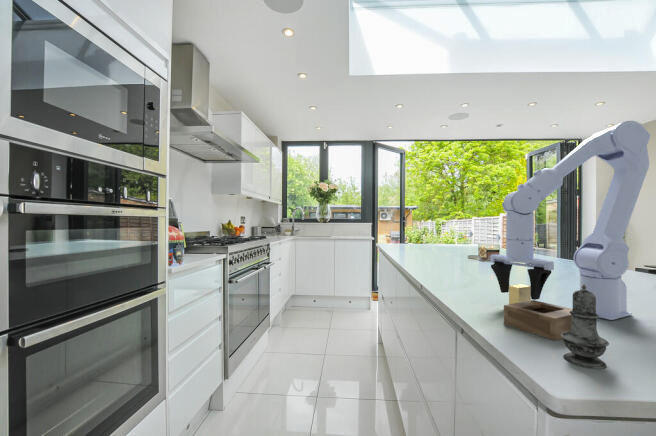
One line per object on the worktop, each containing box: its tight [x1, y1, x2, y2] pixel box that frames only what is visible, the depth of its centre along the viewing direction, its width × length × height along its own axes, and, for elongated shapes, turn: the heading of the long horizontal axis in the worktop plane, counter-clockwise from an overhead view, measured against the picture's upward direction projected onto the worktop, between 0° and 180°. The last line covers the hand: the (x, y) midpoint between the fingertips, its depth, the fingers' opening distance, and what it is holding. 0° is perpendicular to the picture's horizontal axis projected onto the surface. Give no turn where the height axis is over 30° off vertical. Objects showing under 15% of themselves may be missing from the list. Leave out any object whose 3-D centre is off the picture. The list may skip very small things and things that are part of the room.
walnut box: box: [503, 299, 573, 341], centre depth 65 cm, size 10×10×4 cm
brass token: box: [508, 283, 532, 304], centre depth 78 cm, size 4×2×6 cm, turn 116°
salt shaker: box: [561, 285, 610, 370], centre depth 50 cm, size 6×6×12 cm
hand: (519, 295), depth 78 cm, fingers open, 7 cm apart
